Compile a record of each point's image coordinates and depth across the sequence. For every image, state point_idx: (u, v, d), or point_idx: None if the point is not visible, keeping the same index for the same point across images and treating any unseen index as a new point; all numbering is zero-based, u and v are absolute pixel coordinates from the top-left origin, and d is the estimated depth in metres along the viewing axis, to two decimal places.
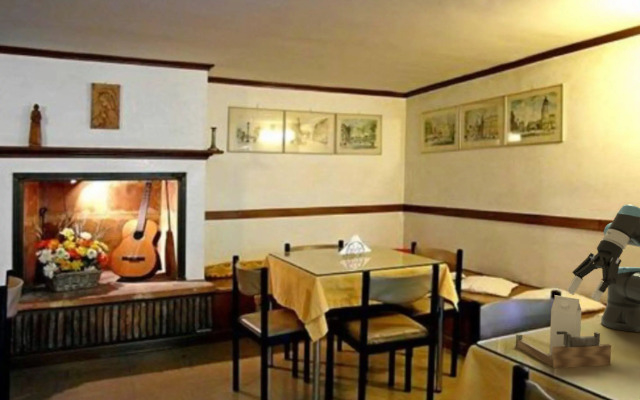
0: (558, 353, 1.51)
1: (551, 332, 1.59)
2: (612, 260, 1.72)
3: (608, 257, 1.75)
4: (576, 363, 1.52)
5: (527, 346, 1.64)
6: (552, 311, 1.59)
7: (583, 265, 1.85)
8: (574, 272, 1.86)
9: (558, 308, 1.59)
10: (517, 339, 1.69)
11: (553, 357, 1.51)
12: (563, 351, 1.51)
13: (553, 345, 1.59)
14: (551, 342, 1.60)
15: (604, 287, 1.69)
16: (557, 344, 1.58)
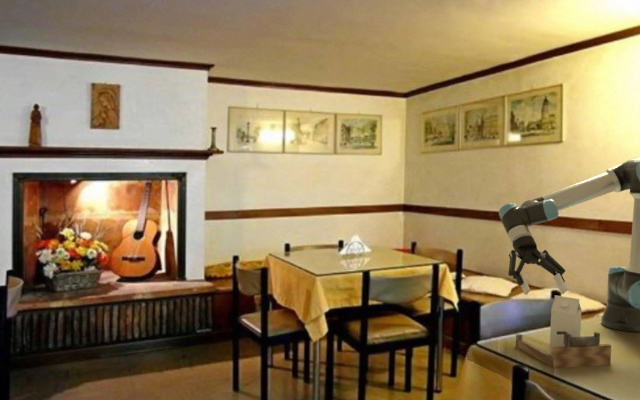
0: (558, 353, 1.51)
1: (551, 332, 1.59)
2: None
3: None
4: (576, 363, 1.52)
5: (527, 346, 1.64)
6: (552, 311, 1.59)
7: None
8: None
9: (558, 308, 1.59)
10: (517, 339, 1.69)
11: (553, 357, 1.51)
12: (563, 351, 1.51)
13: (553, 345, 1.59)
14: (551, 342, 1.60)
15: (517, 280, 1.70)
16: (557, 344, 1.58)
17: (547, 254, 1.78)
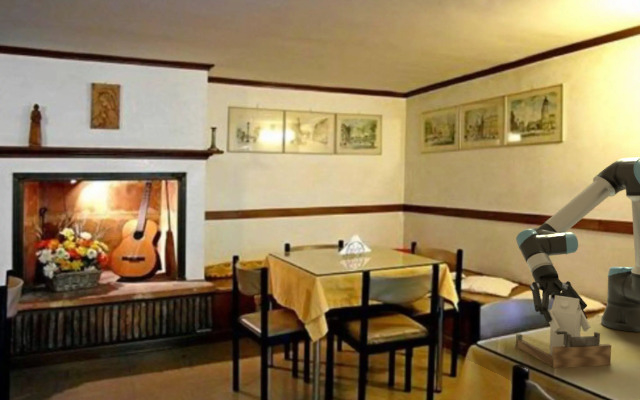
0: (558, 353, 1.51)
1: (551, 332, 1.59)
2: None
3: None
4: (576, 363, 1.52)
5: (527, 346, 1.64)
6: (552, 311, 1.59)
7: None
8: None
9: (558, 308, 1.59)
10: (517, 339, 1.69)
11: (553, 357, 1.51)
12: (563, 351, 1.51)
13: (553, 345, 1.59)
14: (551, 342, 1.60)
15: (545, 316, 1.59)
16: (557, 344, 1.58)
17: (570, 286, 1.67)
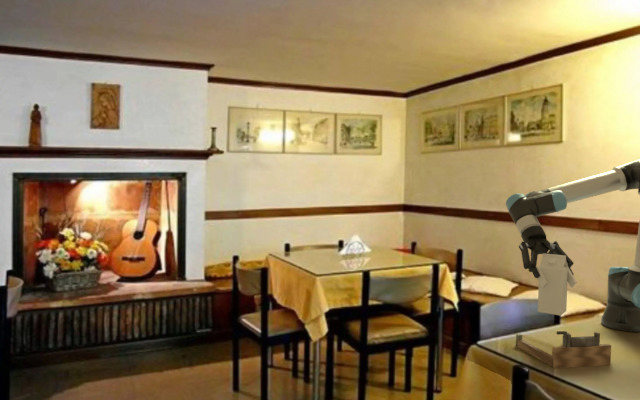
0: (558, 353, 1.51)
1: (539, 288, 1.66)
2: None
3: None
4: (576, 363, 1.52)
5: (527, 346, 1.64)
6: (540, 268, 1.66)
7: None
8: None
9: (546, 265, 1.65)
10: (517, 339, 1.69)
11: (553, 357, 1.51)
12: (563, 351, 1.51)
13: (541, 300, 1.66)
14: (539, 298, 1.66)
15: (533, 273, 1.66)
16: (545, 299, 1.65)
17: (557, 245, 1.74)
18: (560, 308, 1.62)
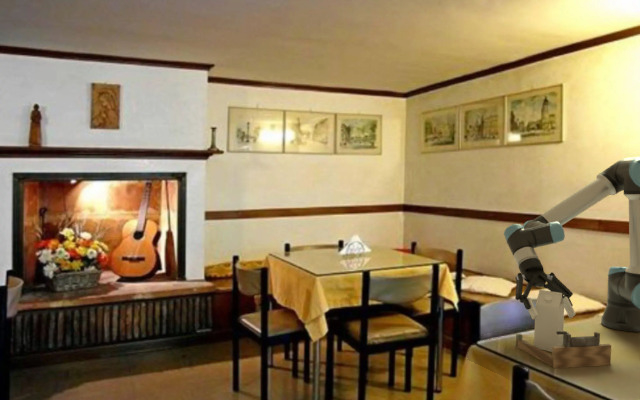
0: (558, 353, 1.51)
1: (535, 325, 1.67)
2: None
3: None
4: (576, 363, 1.52)
5: (527, 346, 1.64)
6: (536, 305, 1.67)
7: None
8: None
9: (542, 302, 1.67)
10: (517, 339, 1.69)
11: (553, 357, 1.51)
12: (563, 351, 1.51)
13: (537, 337, 1.67)
14: (535, 334, 1.68)
15: (525, 304, 1.67)
16: (541, 336, 1.66)
17: (554, 277, 1.76)
18: (556, 345, 1.64)
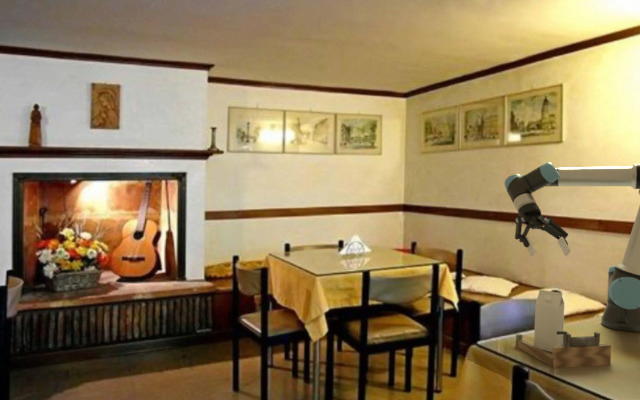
0: (558, 353, 1.51)
1: (535, 325, 1.67)
2: None
3: None
4: (576, 363, 1.52)
5: (527, 346, 1.64)
6: (536, 305, 1.67)
7: None
8: None
9: (542, 302, 1.67)
10: (517, 339, 1.69)
11: (553, 357, 1.51)
12: (563, 351, 1.51)
13: (537, 337, 1.67)
14: (535, 334, 1.68)
15: (523, 243, 1.82)
16: (541, 336, 1.66)
17: (551, 220, 1.90)
18: (556, 345, 1.64)
